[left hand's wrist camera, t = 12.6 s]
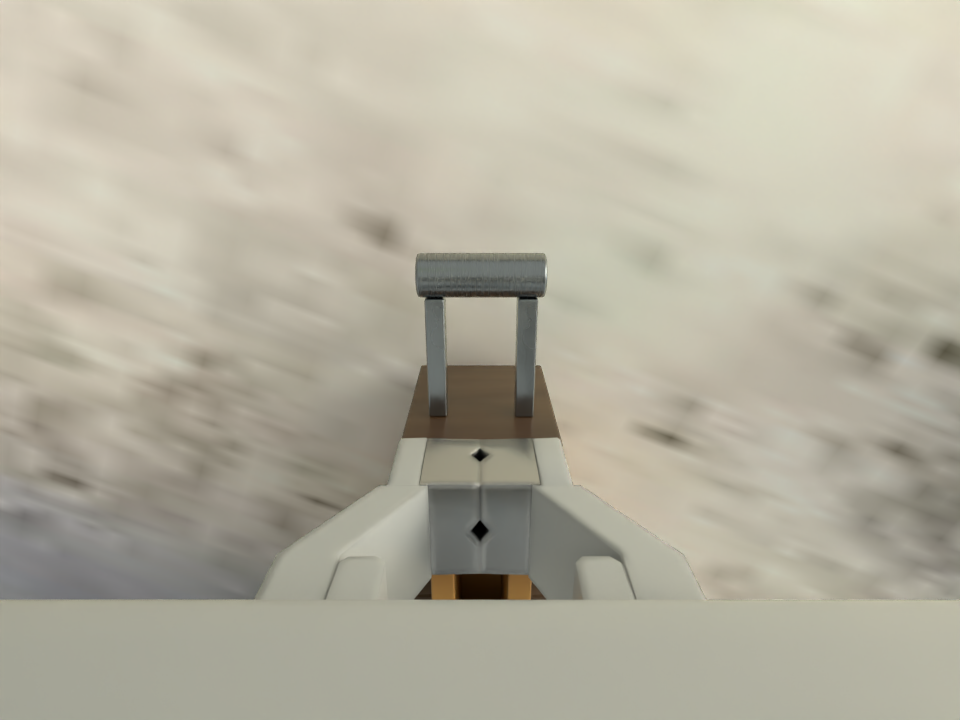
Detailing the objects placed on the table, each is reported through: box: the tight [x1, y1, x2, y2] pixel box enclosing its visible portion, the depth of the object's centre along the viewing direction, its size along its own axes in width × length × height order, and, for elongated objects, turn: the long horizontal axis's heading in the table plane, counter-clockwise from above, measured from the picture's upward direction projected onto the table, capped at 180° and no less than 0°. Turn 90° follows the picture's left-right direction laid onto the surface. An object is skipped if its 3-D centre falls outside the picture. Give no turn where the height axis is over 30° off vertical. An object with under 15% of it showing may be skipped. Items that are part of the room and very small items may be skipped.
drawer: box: [402, 253, 563, 600], centre depth 21 cm, size 24×5×6 cm, turn 0°
